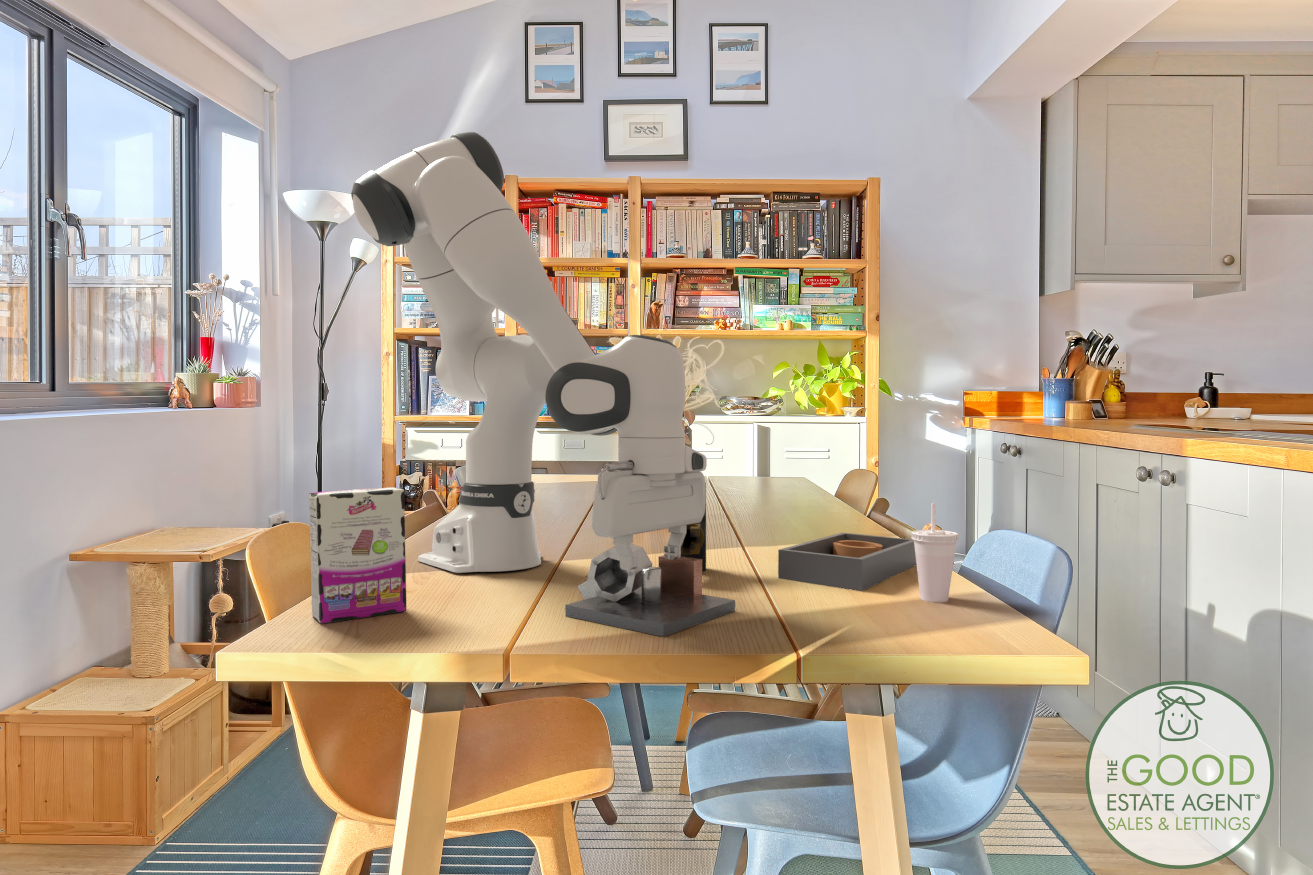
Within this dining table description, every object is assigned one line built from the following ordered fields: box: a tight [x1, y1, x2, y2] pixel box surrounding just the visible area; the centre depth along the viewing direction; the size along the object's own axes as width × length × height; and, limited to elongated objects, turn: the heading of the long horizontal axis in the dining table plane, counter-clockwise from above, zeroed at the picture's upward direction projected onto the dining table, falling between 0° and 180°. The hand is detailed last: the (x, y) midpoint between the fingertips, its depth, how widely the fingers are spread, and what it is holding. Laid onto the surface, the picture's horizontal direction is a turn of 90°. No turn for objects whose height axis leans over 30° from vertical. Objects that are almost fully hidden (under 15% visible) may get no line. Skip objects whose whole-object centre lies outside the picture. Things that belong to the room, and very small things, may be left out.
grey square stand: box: [564, 554, 736, 638], centre depth 106 cm, size 16×16×6 cm
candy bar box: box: [308, 486, 407, 624], centre depth 105 cm, size 11×5×16 cm, turn 126°
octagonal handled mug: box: [577, 543, 653, 602], centre depth 110 cm, size 6×10×7 cm
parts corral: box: [777, 532, 917, 592], centre depth 133 cm, size 14×24×5 cm, turn 143°
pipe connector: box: [681, 481, 707, 573], centre depth 130 cm, size 12×5×15 cm, turn 173°
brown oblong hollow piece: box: [833, 540, 883, 558], centre depth 142 cm, size 18×8×7 cm, turn 56°
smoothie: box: [911, 502, 960, 603], centre depth 114 cm, size 6×6×14 cm
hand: (651, 563), depth 106 cm, fingers open, 8 cm apart
